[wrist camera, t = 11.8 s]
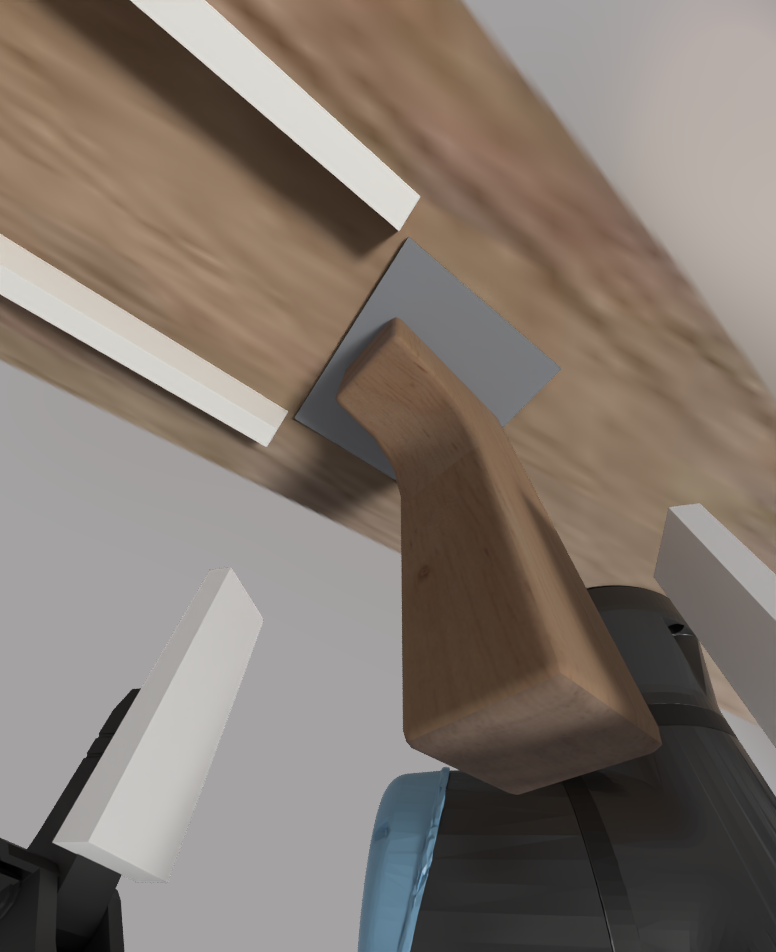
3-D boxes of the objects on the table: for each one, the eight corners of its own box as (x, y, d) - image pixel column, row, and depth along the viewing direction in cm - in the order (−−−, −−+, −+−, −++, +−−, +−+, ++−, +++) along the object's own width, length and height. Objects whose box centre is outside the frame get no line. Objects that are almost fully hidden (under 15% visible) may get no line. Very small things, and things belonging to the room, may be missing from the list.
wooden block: (342, 372, 22) (224, 672, 7) (395, 312, 20) (388, 547, 5) (445, 463, 26) (513, 802, 10) (499, 419, 24) (677, 753, 9)
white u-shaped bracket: (418, 199, 18) (421, 195, 15) (278, 428, 25) (261, 455, 22) (-62, -236, 12) (-208, -379, 9) (-69, 221, 19) (-153, 222, 16)
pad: (559, 366, 22) (561, 368, 22) (429, 497, 28) (429, 501, 27) (408, 236, 19) (408, 236, 19) (295, 415, 25) (294, 418, 24)
